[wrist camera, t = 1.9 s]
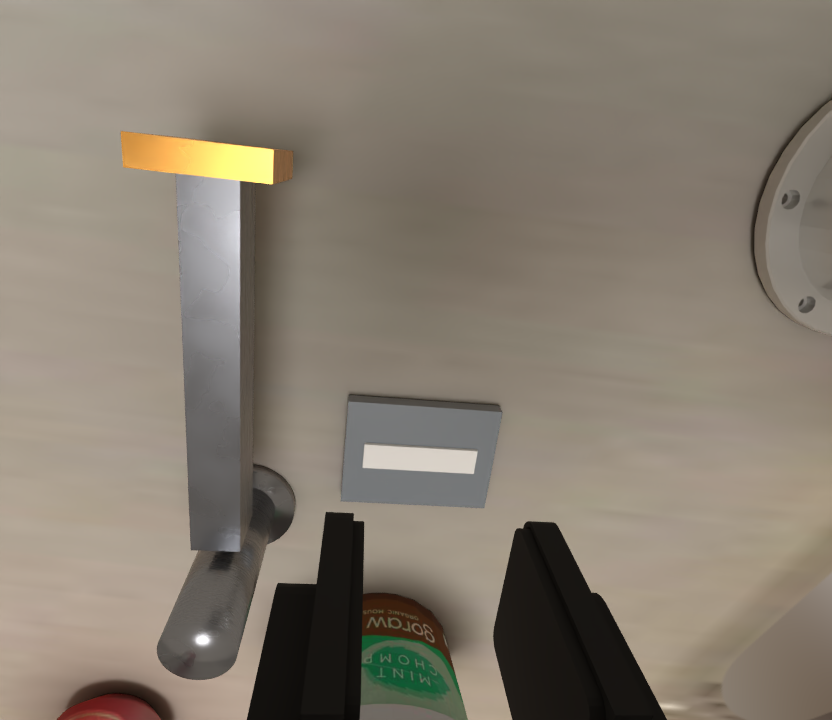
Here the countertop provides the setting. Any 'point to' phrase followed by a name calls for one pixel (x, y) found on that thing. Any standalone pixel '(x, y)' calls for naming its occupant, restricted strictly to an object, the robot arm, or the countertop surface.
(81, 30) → the countertop surface
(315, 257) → the countertop surface
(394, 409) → the label tile
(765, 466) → the countertop surface
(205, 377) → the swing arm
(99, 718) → the liquor
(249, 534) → the pivot post
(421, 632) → the food container
